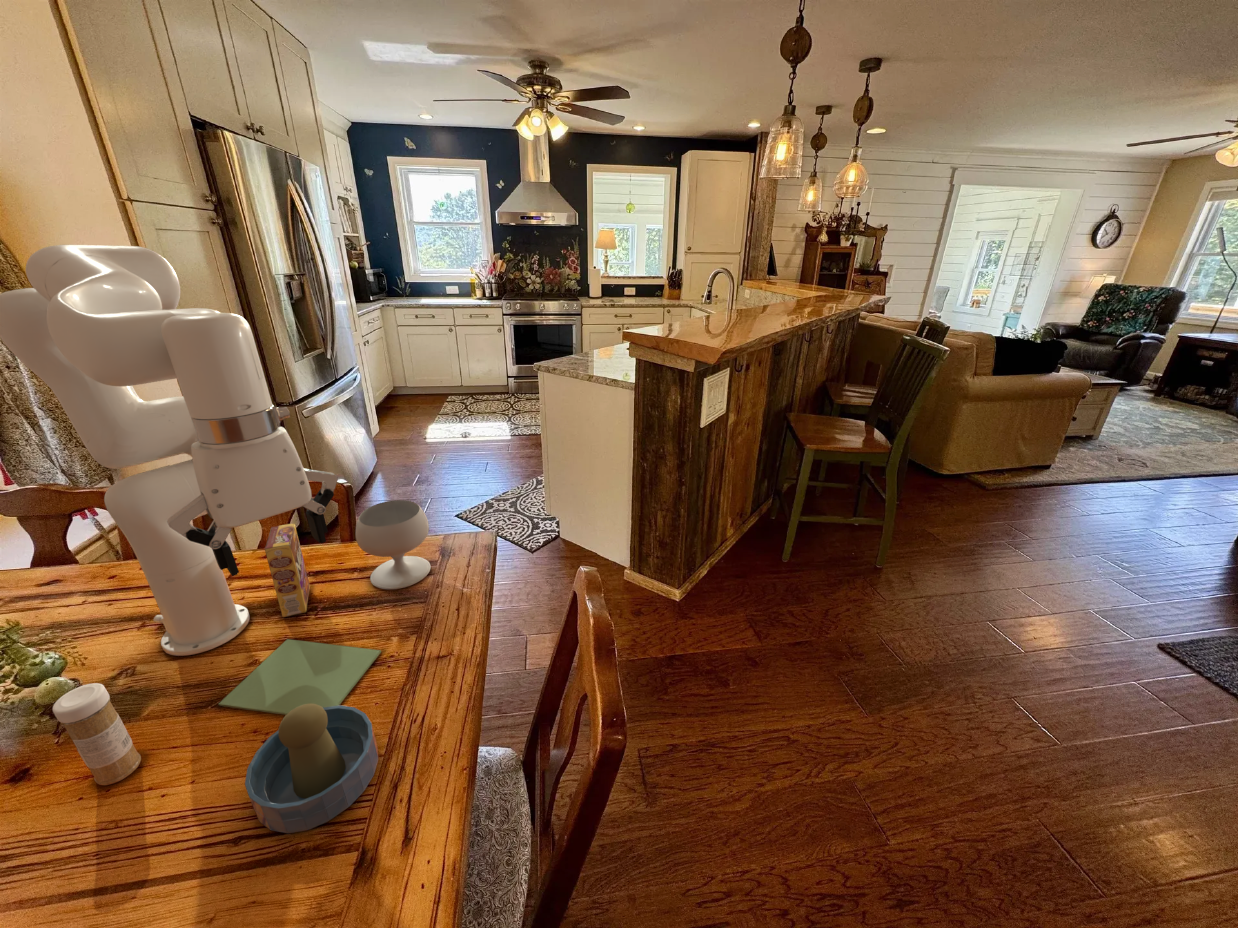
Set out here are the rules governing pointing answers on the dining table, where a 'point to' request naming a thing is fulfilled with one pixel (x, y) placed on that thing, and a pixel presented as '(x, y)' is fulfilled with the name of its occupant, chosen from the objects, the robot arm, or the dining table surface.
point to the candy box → (288, 569)
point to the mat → (301, 677)
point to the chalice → (394, 542)
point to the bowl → (295, 814)
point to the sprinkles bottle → (97, 733)
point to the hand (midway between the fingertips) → (278, 554)
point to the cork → (310, 750)
